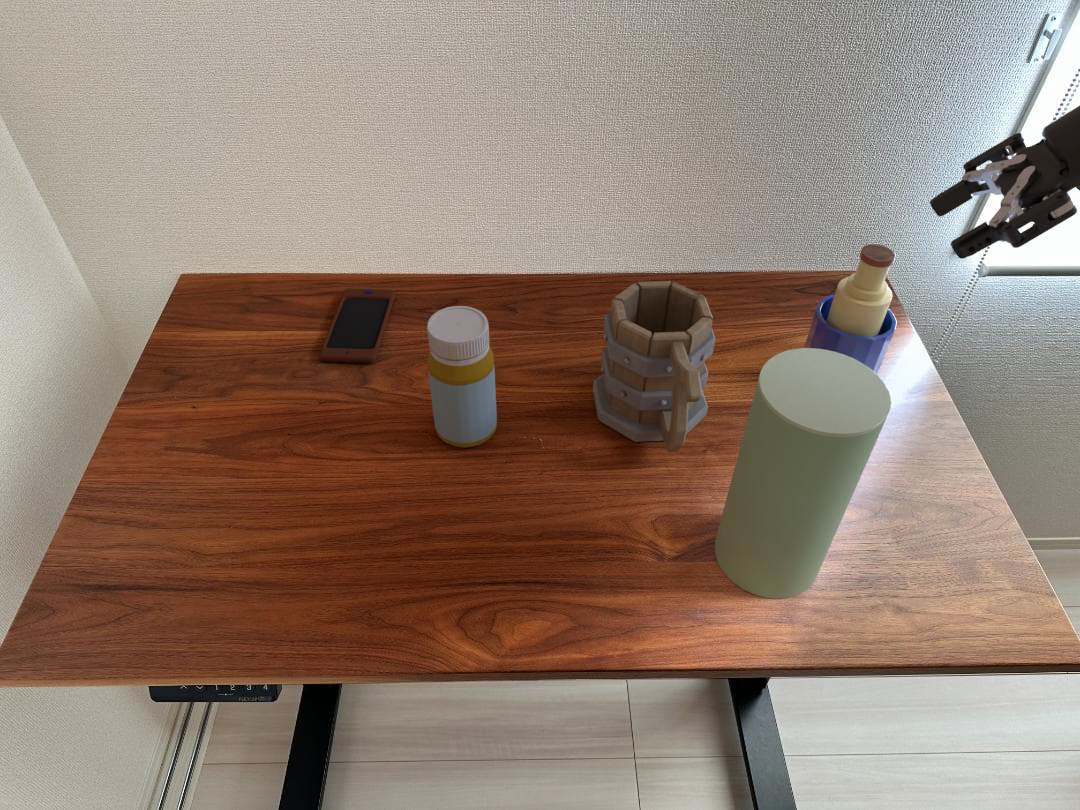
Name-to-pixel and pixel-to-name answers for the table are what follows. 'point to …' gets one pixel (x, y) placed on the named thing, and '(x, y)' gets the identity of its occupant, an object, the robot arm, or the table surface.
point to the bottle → (461, 376)
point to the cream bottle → (863, 294)
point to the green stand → (798, 468)
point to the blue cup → (850, 338)
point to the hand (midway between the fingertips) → (943, 230)
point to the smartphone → (358, 326)
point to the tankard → (655, 363)
